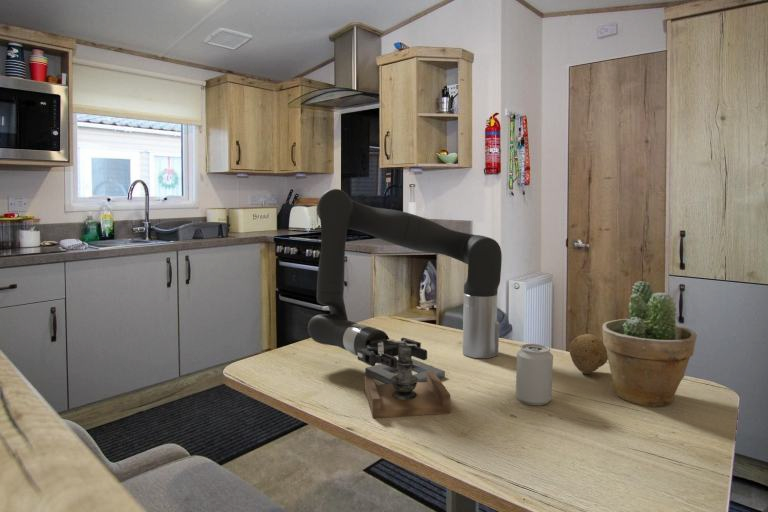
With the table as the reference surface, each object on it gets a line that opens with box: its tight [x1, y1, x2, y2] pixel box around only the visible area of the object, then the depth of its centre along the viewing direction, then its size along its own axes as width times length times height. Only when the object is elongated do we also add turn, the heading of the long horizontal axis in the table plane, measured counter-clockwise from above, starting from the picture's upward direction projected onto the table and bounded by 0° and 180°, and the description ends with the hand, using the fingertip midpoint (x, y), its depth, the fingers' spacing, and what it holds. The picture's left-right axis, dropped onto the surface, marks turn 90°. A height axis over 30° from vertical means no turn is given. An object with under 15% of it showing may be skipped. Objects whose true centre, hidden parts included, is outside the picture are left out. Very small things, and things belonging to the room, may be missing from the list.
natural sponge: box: [568, 333, 608, 375], centre depth 129 cm, size 9×9×10 cm
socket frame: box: [364, 357, 446, 384], centre depth 127 cm, size 14×14×2 cm
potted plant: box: [602, 280, 698, 408], centre depth 113 cm, size 18×19×25 cm
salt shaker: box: [391, 341, 418, 400], centre depth 110 cm, size 6×6×12 cm
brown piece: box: [364, 371, 451, 419], centre depth 111 cm, size 16×14×4 cm
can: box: [515, 343, 554, 406], centre depth 112 cm, size 8×8×12 cm
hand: (411, 359), depth 109 cm, fingers open, 8 cm apart
